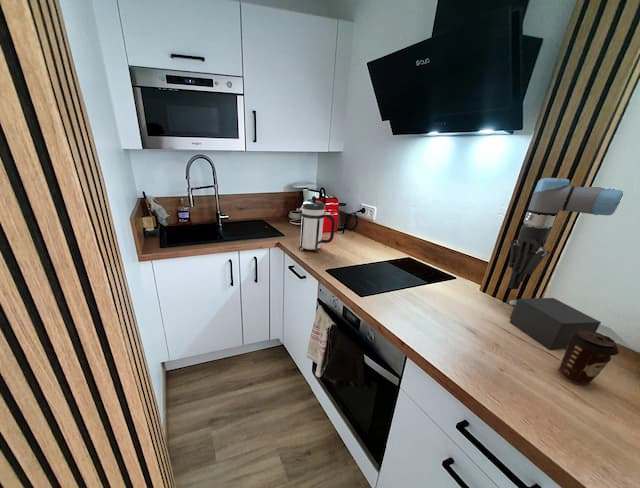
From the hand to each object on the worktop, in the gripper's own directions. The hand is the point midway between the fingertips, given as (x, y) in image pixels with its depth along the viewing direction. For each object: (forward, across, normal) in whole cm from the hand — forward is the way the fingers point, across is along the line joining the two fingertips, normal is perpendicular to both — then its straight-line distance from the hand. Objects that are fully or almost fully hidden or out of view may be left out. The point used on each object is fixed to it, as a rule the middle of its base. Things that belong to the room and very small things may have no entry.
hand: (513, 288), depth 105 cm
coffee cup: (+9, +35, -11) cm, 37 cm away
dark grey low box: (+9, +16, 0) cm, 19 cm away
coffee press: (+7, -68, -62) cm, 92 cm away
